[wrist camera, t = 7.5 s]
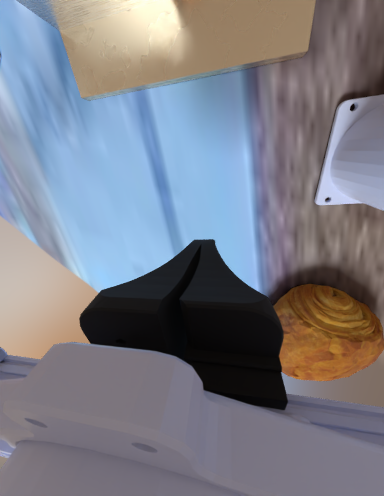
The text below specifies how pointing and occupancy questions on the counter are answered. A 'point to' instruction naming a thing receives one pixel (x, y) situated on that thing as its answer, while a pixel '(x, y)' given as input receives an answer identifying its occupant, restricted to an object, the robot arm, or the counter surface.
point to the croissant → (326, 333)
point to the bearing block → (172, 39)
